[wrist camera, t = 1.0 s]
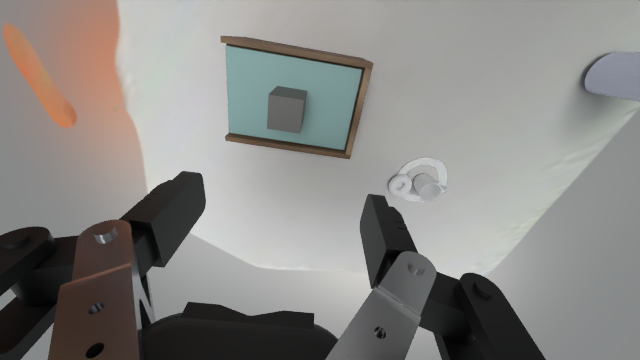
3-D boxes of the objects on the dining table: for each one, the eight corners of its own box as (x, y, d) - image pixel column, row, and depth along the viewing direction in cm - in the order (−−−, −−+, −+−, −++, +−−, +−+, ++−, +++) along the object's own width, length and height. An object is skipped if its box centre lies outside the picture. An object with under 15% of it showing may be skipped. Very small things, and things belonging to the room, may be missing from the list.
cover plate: (228, 45, 23) (204, 46, 18) (360, 68, 24) (369, 75, 19) (231, 130, 27) (212, 148, 22) (343, 147, 28) (347, 168, 23)
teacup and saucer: (380, 190, 38) (386, 205, 35) (405, 147, 35) (415, 159, 31) (427, 205, 40) (437, 221, 36) (456, 165, 36) (471, 179, 32)
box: (244, 37, 28) (220, 35, 21) (362, 58, 28) (373, 63, 22) (244, 121, 33) (225, 140, 26) (344, 136, 33) (349, 159, 27)
